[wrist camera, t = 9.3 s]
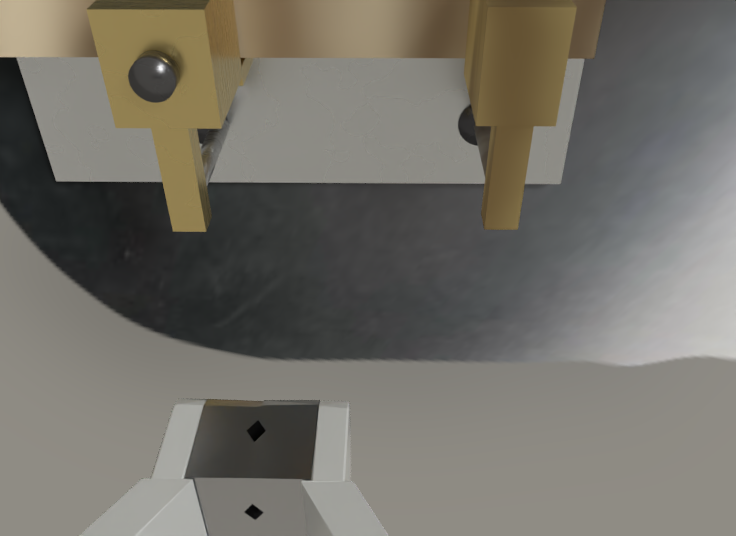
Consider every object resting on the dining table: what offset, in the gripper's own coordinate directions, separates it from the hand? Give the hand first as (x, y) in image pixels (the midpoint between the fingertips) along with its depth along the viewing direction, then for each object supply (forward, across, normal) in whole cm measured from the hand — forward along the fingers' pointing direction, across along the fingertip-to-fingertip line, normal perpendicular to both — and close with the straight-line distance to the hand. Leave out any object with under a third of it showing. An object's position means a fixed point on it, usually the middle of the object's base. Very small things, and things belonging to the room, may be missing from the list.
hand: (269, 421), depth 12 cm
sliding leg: (+24, +6, +2) cm, 25 cm away
